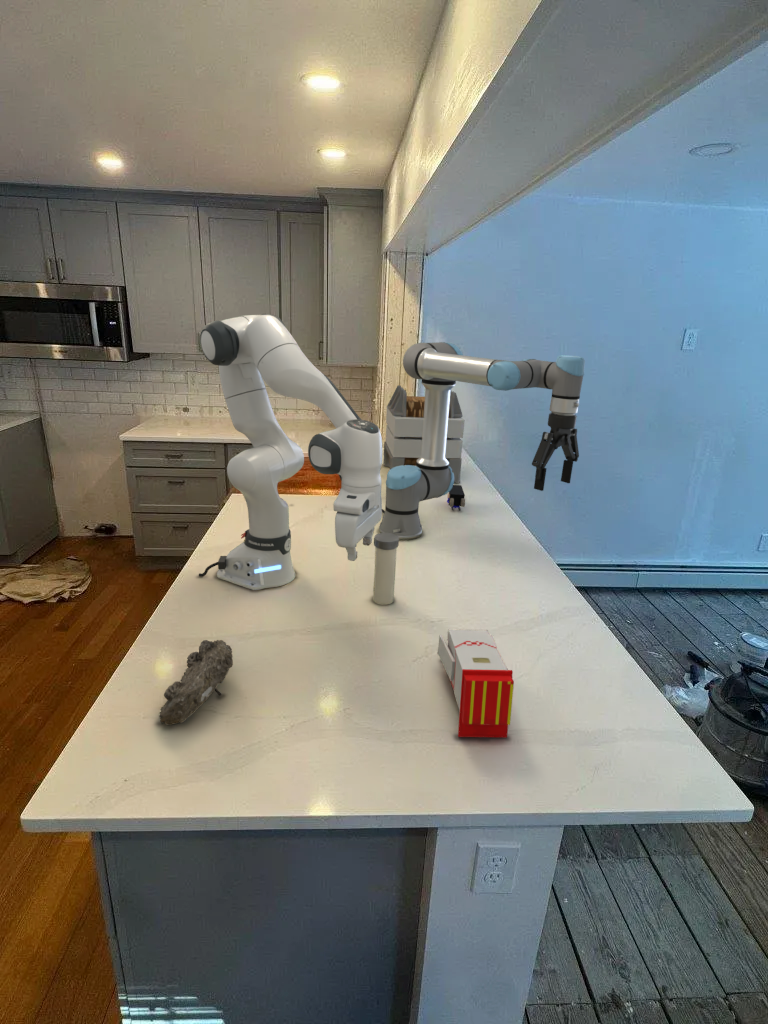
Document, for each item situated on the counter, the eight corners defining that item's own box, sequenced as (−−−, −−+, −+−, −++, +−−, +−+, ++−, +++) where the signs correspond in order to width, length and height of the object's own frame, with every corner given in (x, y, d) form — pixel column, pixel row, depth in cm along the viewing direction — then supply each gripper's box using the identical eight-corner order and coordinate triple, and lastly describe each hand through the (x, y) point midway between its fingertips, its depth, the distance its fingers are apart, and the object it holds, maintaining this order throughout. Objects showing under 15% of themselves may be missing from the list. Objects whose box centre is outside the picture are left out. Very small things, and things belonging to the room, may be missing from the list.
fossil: (185, 642, 124) (233, 610, 119) (215, 671, 126) (264, 641, 122) (136, 718, 104) (191, 685, 99) (173, 751, 107) (229, 720, 102)
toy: (488, 613, 130) (523, 677, 101) (484, 667, 133) (517, 744, 104) (435, 612, 130) (455, 676, 101) (432, 666, 133) (451, 743, 103)
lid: (403, 546, 148) (403, 539, 148) (382, 551, 145) (383, 543, 144) (389, 538, 153) (389, 531, 152) (369, 543, 150) (369, 535, 149)
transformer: (382, 463, 289) (386, 382, 275) (445, 464, 293) (451, 384, 279) (390, 482, 257) (394, 392, 243) (460, 483, 261) (468, 394, 247)
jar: (397, 601, 154) (401, 540, 148) (380, 606, 151) (383, 544, 145) (385, 593, 158) (388, 533, 152) (369, 597, 155) (371, 537, 149)
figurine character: (465, 515, 224) (460, 499, 237) (467, 498, 221) (462, 483, 234) (448, 515, 224) (444, 499, 237) (450, 498, 220) (445, 482, 234)
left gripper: (364, 480, 136) (363, 534, 141) (329, 506, 118) (329, 566, 122) (389, 483, 134) (387, 538, 139) (358, 510, 116) (357, 571, 120)
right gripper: (548, 419, 148) (537, 496, 155) (598, 411, 163) (586, 482, 171) (525, 414, 153) (515, 489, 160) (575, 407, 169) (564, 476, 176)
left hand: (360, 551), depth 130 cm, fingers open, 8 cm apart
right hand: (552, 485), depth 166 cm, fingers open, 13 cm apart
